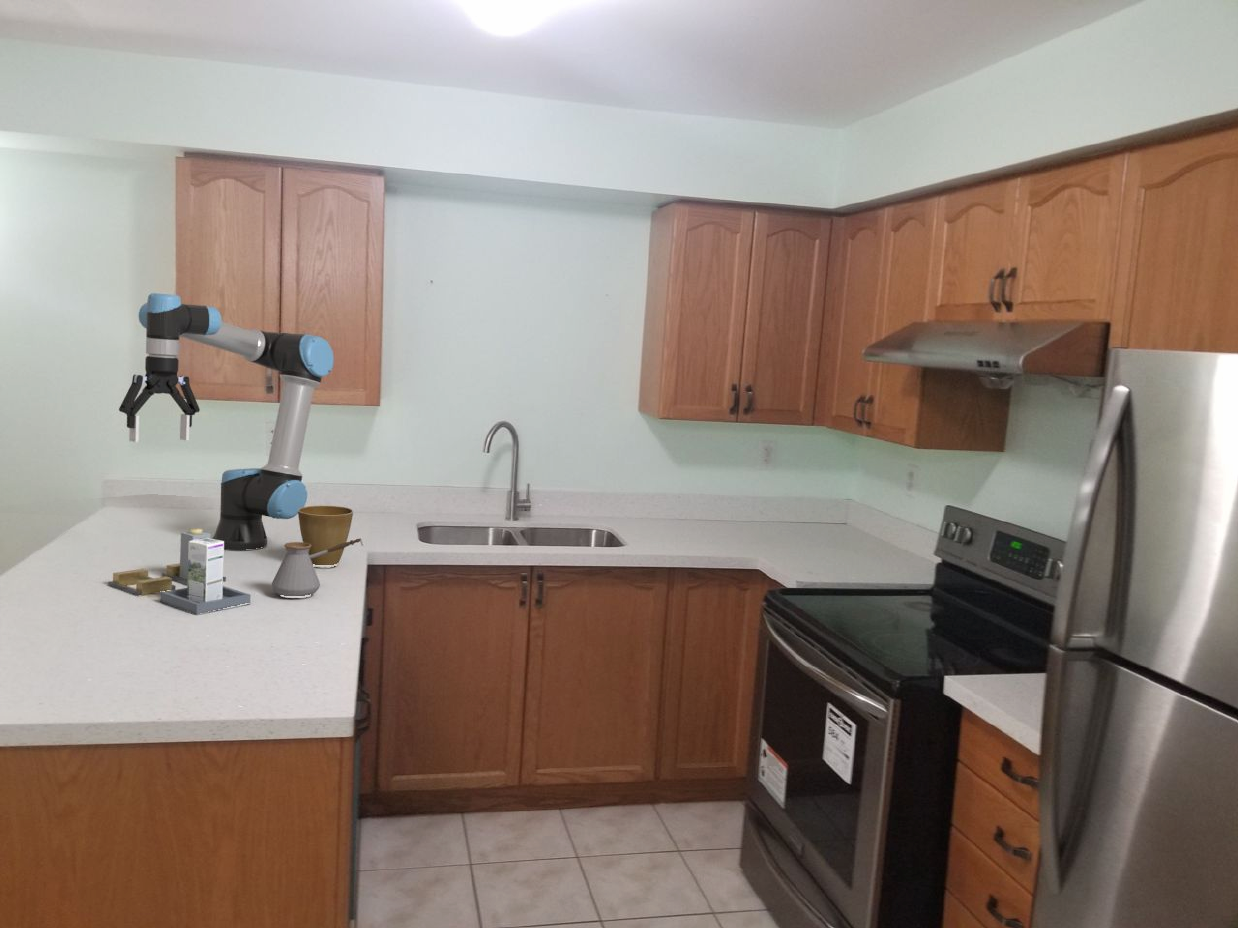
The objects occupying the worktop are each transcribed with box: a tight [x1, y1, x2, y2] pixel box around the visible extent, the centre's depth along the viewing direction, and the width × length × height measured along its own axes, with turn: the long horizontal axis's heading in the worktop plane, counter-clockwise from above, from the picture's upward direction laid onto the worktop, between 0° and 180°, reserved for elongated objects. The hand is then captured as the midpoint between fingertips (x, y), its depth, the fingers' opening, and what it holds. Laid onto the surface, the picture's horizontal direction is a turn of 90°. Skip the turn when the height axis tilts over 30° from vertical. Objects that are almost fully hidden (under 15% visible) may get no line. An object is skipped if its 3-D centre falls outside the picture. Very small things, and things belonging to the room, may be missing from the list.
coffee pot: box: [271, 537, 364, 596], centre depth 246 cm, size 21×12×15 cm, turn 103°
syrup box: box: [186, 538, 225, 603], centre depth 231 cm, size 6×6×14 cm
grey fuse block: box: [179, 527, 212, 580], centre depth 252 cm, size 5×5×13 cm
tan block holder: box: [108, 568, 177, 597], centre depth 241 cm, size 10×12×3 cm
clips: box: [162, 562, 227, 586], centre depth 253 cm, size 10×12×3 cm
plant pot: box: [297, 505, 354, 565], centre depth 278 cm, size 15×15×16 cm
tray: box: [159, 585, 251, 615], centre depth 232 cm, size 14×14×2 cm
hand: (159, 440), depth 250 cm, fingers open, 13 cm apart
